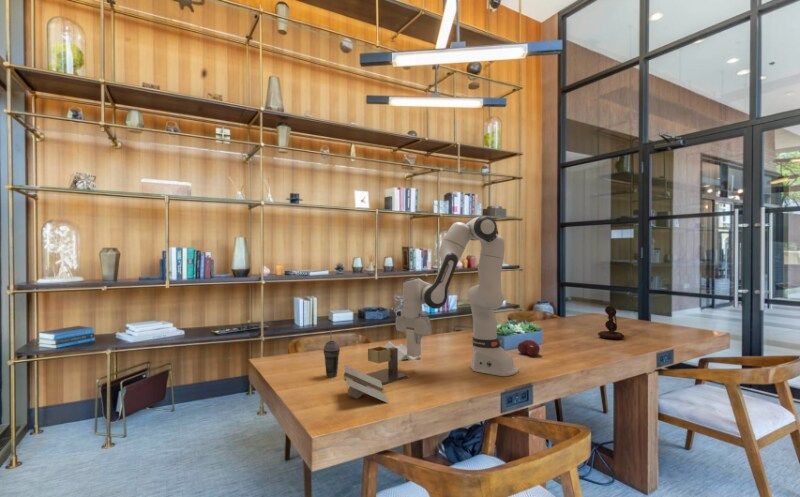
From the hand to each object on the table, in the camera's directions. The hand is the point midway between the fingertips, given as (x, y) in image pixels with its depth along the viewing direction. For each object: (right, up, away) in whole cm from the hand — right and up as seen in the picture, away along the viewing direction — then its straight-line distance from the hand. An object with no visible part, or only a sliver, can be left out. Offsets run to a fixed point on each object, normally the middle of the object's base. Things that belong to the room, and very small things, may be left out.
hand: (413, 342), depth 184 cm
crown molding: (-6, -14, +34) cm, 38 cm away
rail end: (0, -6, 0) cm, 6 cm away
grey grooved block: (-19, -13, -33) cm, 40 cm away
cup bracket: (-13, -13, -10) cm, 21 cm away
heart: (+63, -13, +29) cm, 71 cm away
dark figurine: (+128, -14, +69) cm, 146 cm away
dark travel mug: (-37, -13, -7) cm, 40 cm away
